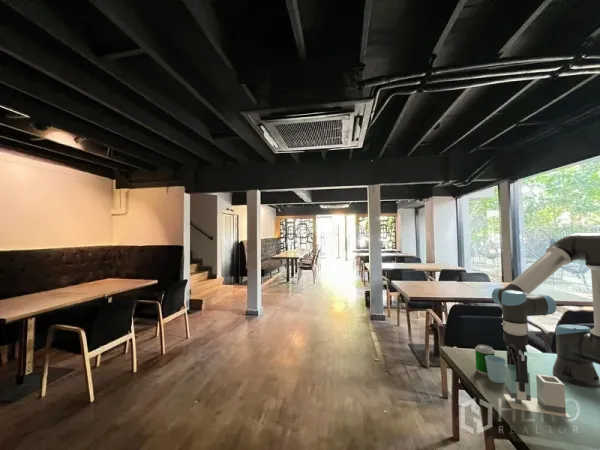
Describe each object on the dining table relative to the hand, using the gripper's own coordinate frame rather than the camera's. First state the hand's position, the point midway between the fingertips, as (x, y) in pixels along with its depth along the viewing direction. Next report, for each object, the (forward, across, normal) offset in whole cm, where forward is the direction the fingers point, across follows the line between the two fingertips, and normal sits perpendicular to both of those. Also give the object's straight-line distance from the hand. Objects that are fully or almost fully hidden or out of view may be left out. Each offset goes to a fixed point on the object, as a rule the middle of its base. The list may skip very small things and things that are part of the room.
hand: (518, 394), depth 108 cm
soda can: (+5, -26, -4) cm, 27 cm away
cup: (+5, -17, -2) cm, 18 cm away
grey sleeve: (+3, 0, +10) cm, 10 cm away
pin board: (+4, 0, +5) cm, 7 cm away
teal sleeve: (0, 0, 0) cm, 0 cm away
